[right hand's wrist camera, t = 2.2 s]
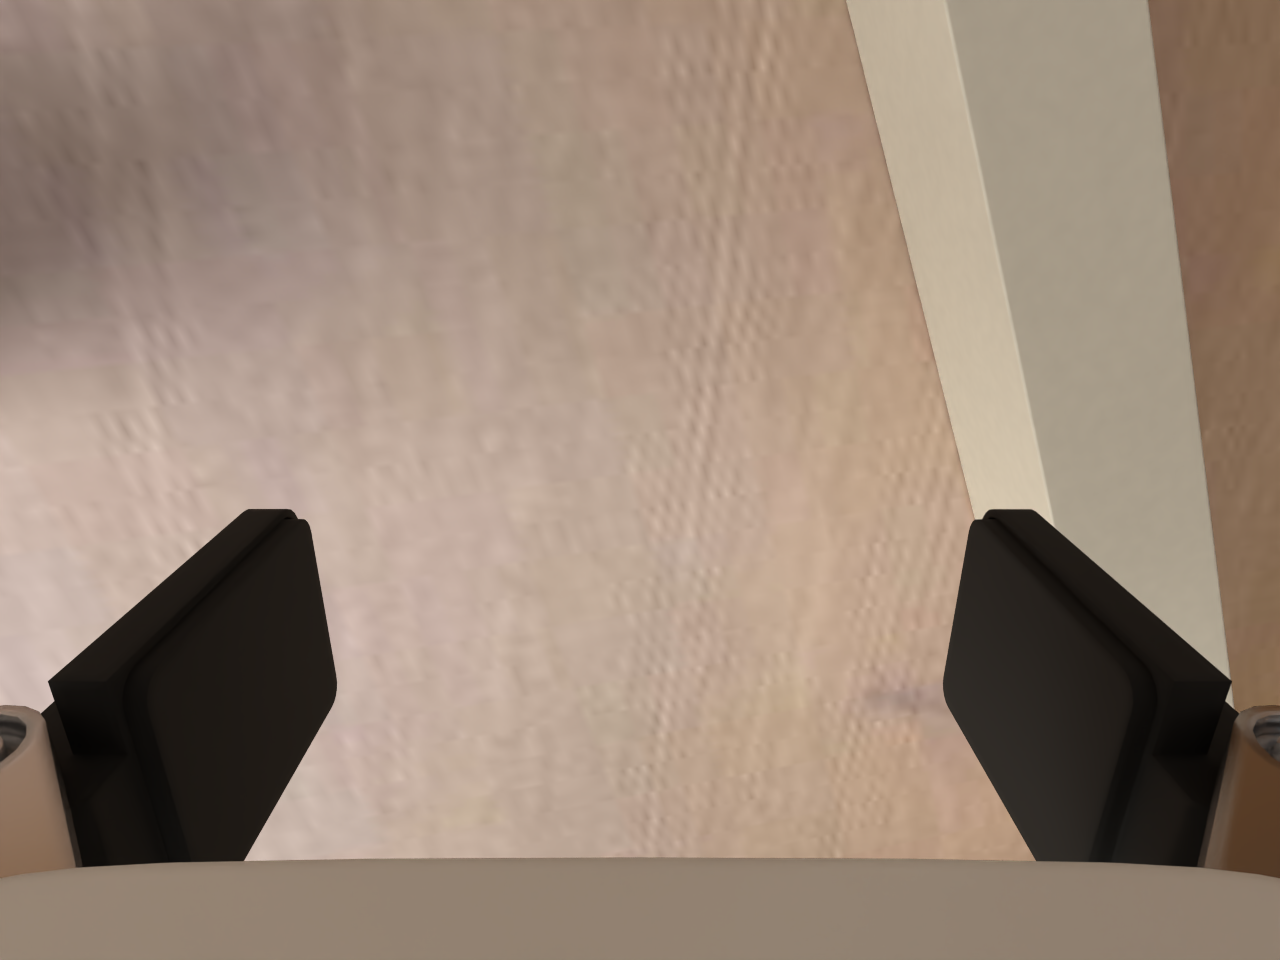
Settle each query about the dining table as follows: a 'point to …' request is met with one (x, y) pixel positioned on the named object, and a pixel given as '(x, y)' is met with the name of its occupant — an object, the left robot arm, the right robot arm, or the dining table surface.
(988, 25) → the beam
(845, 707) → the dining table surface
